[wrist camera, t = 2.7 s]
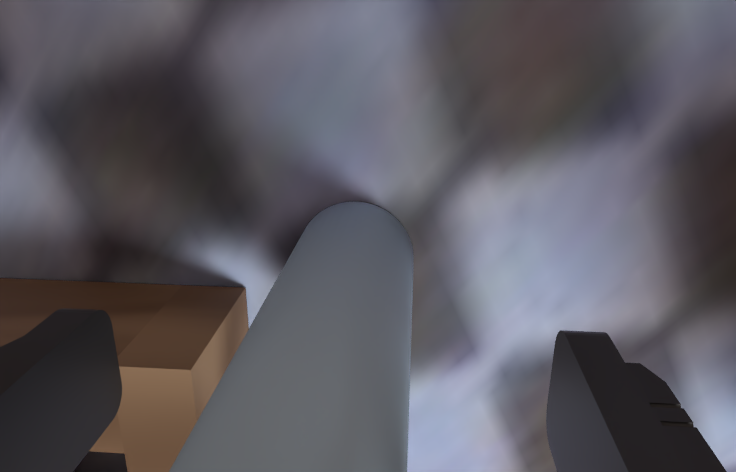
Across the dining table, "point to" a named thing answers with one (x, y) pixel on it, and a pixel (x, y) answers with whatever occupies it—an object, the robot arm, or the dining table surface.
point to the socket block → (145, 353)
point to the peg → (320, 359)
